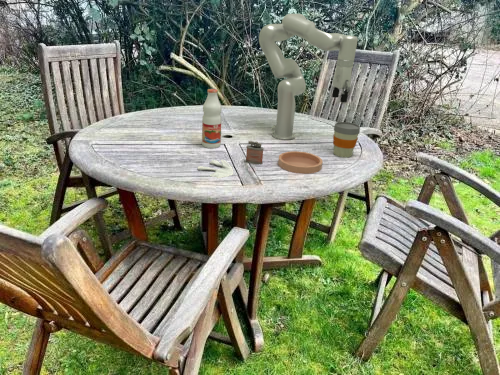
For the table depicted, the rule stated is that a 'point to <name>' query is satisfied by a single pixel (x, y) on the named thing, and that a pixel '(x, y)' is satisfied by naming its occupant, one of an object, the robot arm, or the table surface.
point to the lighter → (254, 153)
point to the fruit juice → (211, 120)
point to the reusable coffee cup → (345, 138)
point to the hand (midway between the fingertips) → (339, 99)
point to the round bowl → (300, 162)
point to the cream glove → (219, 173)
